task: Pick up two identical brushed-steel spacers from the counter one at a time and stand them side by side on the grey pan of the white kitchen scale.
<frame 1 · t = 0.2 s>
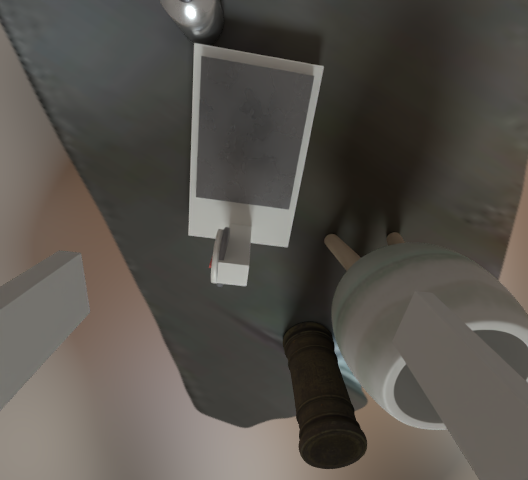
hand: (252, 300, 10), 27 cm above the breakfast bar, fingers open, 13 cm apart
planter: (358, 253, 41), on the breakfast bar
spacer 2: (201, 18, 28), on the breakfast bar
pan: (250, 141, 30), point 4 cm above the breakfast bar, slide at 0.3 cm
scale: (248, 158, 34), on the breakfast bar
container: (307, 338, 48), on the breakfast bar
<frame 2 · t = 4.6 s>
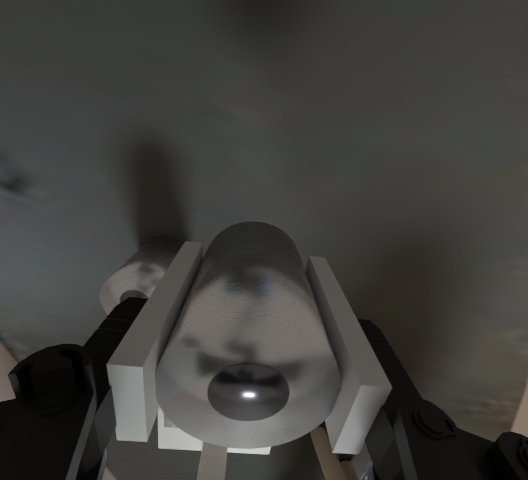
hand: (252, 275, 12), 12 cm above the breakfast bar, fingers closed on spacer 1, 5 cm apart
planter: (348, 437, 37), on the breakfast bar
spacer 2: (166, 259, 25), on the breakfast bar
pan: (222, 381, 27), point 4 cm above the breakfast bar, slide at 0.3 cm
scale: (224, 368, 31), on the breakfast bar
spacer 1: (252, 266, 13), point 11 cm above the breakfast bar, touching gripper
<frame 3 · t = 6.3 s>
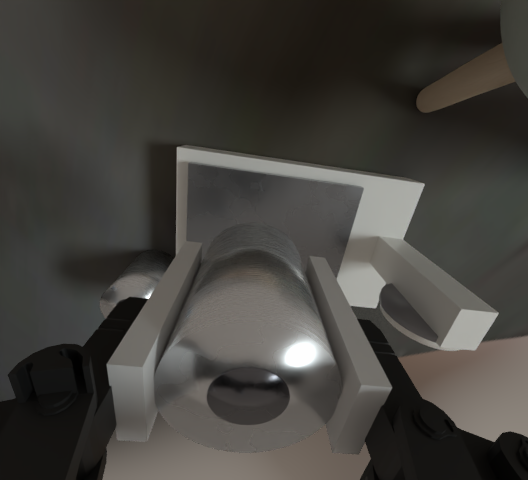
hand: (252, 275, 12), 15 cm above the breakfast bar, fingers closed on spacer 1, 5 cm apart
planter: (469, 34, 21), on the breakfast bar
spacer 2: (156, 269, 29), on the breakfast bar
pan: (267, 238, 24), point 4 cm above the breakfast bar, slide at 0.3 cm
scale: (287, 228, 28), on the breakfast bar
spacer 1: (252, 268, 13), point 14 cm above the breakfast bar, touching gripper
when the fingers open (5 cm above the breakfast bar, at t = 8.4 s): spacer 1 stays where it is, resting on pan.
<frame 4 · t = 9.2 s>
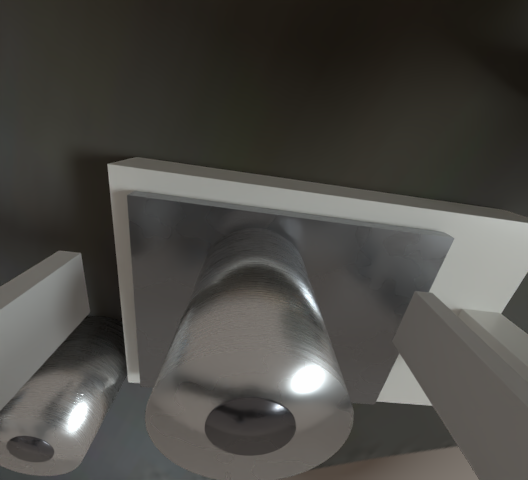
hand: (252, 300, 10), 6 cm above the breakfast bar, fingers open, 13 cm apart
spacer 2: (106, 342, 19), on the breakfast bar
pan: (276, 317, 14), point 4 cm above the breakfast bar, slide at 0.4 cm, touching spacer 1
scale: (306, 285, 18), on the breakfast bar
spacer 1: (254, 275, 13), point 4 cm above the breakfast bar, touching pan
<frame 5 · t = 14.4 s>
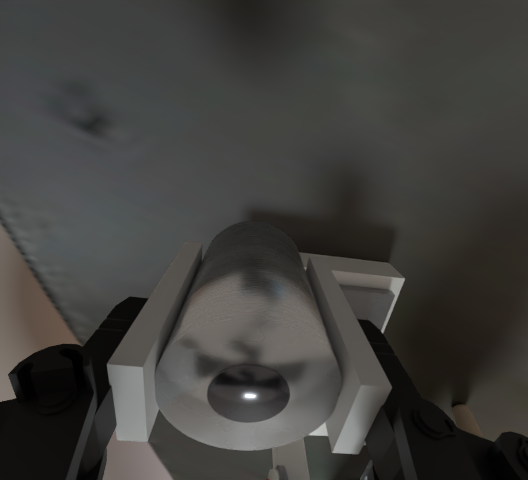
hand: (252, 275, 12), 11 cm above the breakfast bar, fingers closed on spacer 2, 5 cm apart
planter: (416, 420, 35), on the breakfast bar
spacer 2: (252, 266, 13), point 10 cm above the breakfast bar, touching gripper
pan: (308, 351, 25), point 4 cm above the breakfast bar, slide at 0.4 cm, touching spacer 1
scale: (297, 342, 29), on the breakfast bar
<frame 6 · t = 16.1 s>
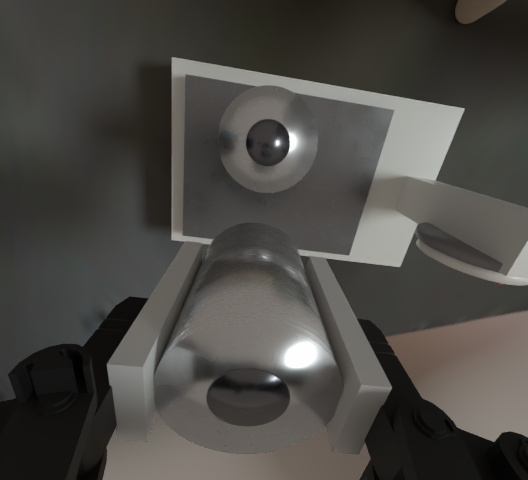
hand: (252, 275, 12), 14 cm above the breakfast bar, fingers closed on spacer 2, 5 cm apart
spacer 2: (252, 268, 13), point 13 cm above the breakfast bar, touching gripper
pan: (278, 177, 21), point 4 cm above the breakfast bar, slide at 0.4 cm, touching spacer 1
scale: (299, 174, 24), on the breakfast bar
spacer 1: (264, 138, 19), point 4 cm above the breakfast bar, touching pan
when the fingers open (5 cm above the breakfast bar, at t = 18.0 s): spacer 2 stays where it is, resting on pan.
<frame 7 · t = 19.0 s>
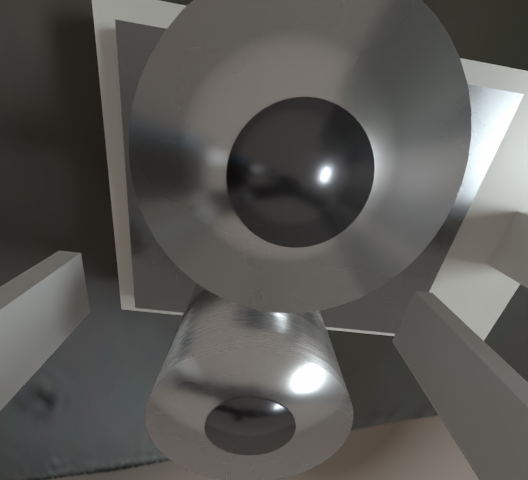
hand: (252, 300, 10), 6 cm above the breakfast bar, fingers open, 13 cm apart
spacer 2: (254, 275, 13), point 4 cm above the breakfast bar, touching pan
pan: (298, 214, 12), point 4 cm above the breakfast bar, slide at 0.4 cm, touching spacer 1, spacer 2
scale: (327, 201, 15), on the breakfast bar
spacer 1: (273, 147, 10), point 4 cm above the breakfast bar, touching pan
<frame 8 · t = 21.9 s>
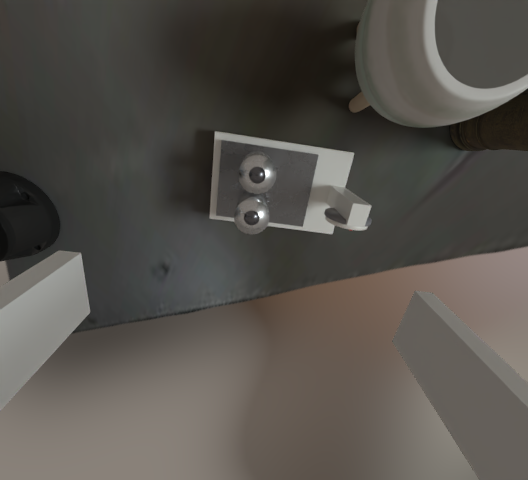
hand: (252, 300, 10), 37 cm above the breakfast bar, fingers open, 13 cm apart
planter: (375, 69, 39), on the breakfast bar
spacer 2: (252, 204, 42), point 4 cm above the breakfast bar, touching pan
pan: (265, 185, 42), point 4 cm above the breakfast bar, slide at 0.4 cm, touching spacer 1, spacer 2
scale: (277, 183, 45), on the breakfast bar
spacer 1: (257, 167, 40), point 4 cm above the breakfast bar, touching pan
container: (475, 120, 42), on the breakfast bar
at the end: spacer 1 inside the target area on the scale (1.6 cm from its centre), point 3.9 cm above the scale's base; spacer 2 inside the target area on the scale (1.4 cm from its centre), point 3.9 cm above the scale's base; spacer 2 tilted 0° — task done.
